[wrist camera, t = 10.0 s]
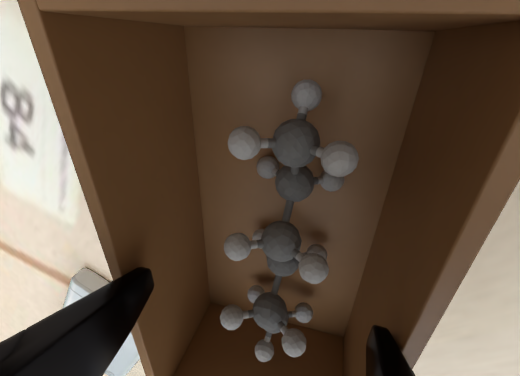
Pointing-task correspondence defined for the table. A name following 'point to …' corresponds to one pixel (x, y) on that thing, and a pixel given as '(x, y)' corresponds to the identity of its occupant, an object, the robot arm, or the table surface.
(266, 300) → the molecular model
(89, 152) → the carton
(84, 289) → the hard drive
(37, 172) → the table surface
